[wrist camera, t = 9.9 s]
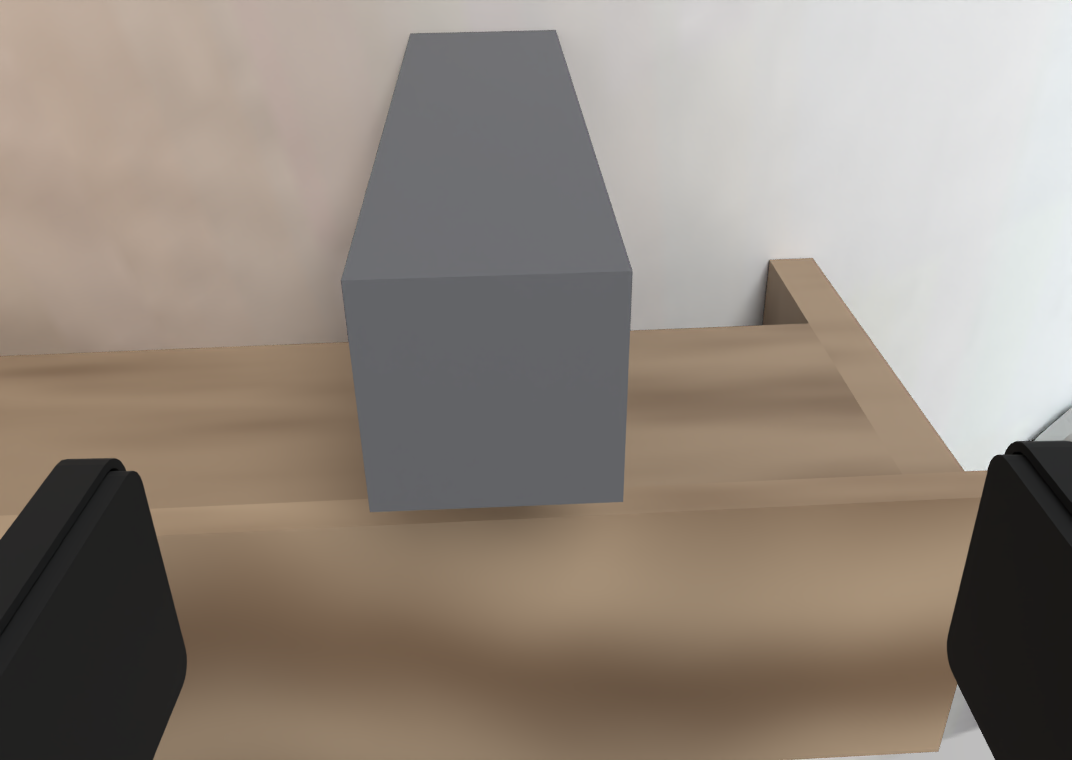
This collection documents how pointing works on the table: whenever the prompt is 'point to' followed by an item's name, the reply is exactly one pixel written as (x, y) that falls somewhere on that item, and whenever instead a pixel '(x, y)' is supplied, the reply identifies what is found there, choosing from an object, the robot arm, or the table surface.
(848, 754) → the wooden bench
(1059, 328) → the table surface
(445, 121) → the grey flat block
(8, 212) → the table surface
